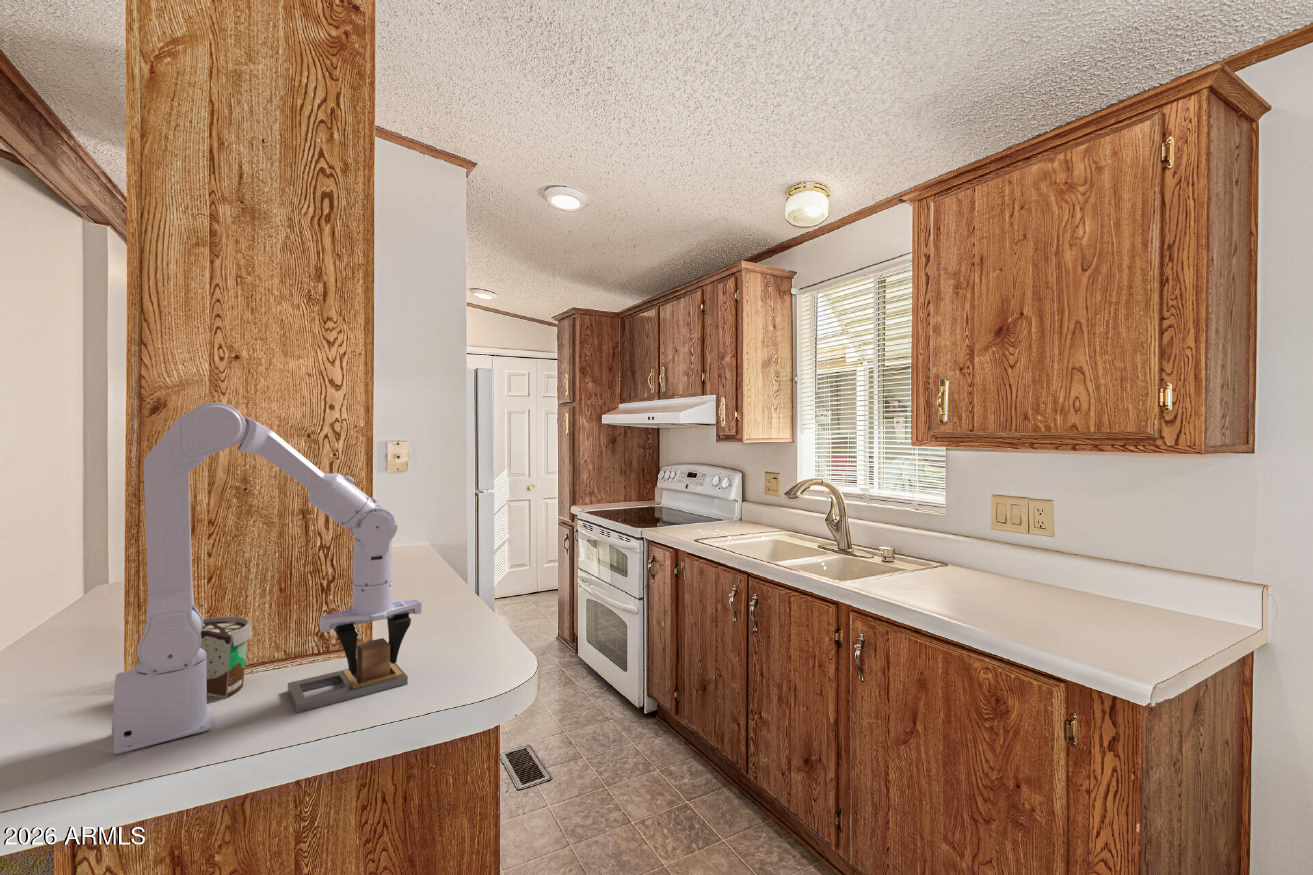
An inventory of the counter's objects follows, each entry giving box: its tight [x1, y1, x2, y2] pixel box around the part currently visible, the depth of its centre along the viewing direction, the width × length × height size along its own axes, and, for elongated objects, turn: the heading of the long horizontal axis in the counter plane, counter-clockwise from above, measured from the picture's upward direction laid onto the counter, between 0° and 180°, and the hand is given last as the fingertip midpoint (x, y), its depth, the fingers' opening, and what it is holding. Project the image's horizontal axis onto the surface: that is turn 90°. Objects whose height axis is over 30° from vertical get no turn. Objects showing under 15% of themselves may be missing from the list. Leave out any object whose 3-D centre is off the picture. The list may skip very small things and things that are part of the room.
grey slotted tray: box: [287, 662, 409, 714], centre depth 89 cm, size 15×9×1 cm, turn 130°
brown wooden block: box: [356, 637, 390, 683], centre depth 91 cm, size 4×4×6 cm
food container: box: [200, 616, 254, 699], centre depth 90 cm, size 12×6×10 cm, turn 74°
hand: (372, 666), depth 91 cm, fingers open, 5 cm apart
